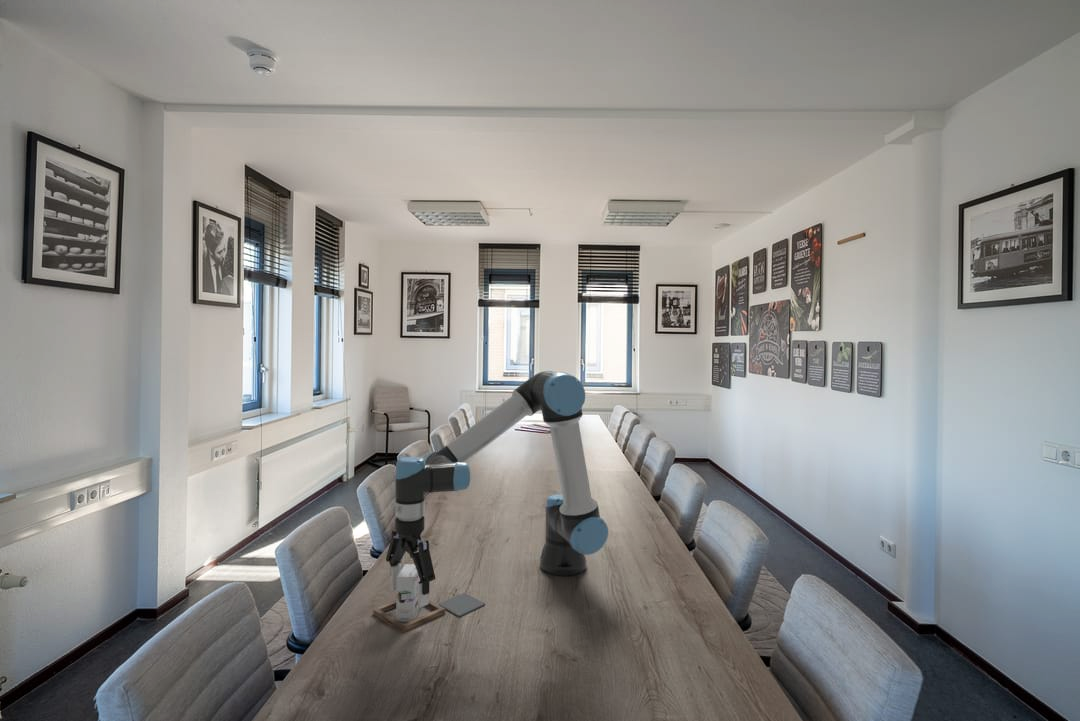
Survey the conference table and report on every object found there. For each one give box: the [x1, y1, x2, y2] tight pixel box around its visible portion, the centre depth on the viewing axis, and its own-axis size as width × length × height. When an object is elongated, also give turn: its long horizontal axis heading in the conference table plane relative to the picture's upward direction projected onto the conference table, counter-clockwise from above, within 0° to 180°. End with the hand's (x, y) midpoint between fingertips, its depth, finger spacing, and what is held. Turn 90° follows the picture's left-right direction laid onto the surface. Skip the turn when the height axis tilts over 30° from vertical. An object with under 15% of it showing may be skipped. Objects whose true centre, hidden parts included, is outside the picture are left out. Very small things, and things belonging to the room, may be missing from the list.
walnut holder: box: [372, 599, 446, 634], centre depth 139 cm, size 13×13×1 cm
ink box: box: [395, 563, 421, 623], centre depth 139 cm, size 8×5×12 cm, turn 179°
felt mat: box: [438, 592, 486, 618], centre depth 144 cm, size 9×9×1 cm
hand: (409, 597), depth 139 cm, fingers open, 12 cm apart
